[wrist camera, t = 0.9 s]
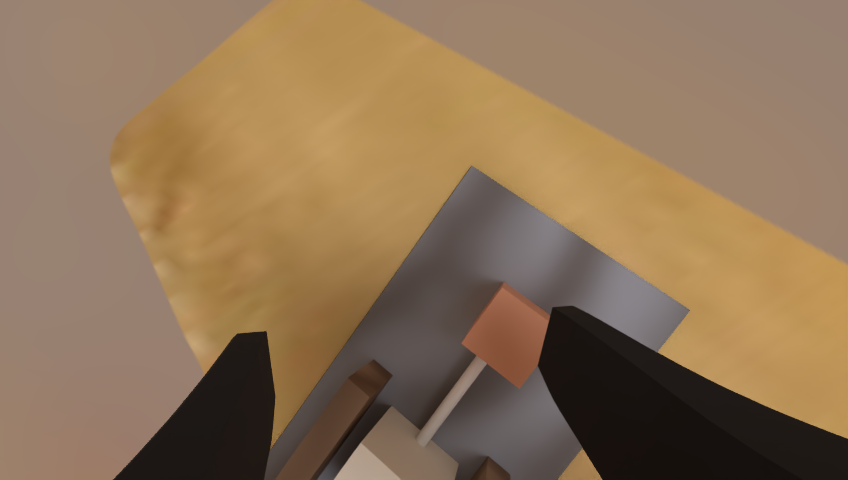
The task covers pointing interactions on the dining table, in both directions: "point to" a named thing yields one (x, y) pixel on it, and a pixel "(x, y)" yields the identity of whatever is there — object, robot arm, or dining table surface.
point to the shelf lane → (448, 359)
